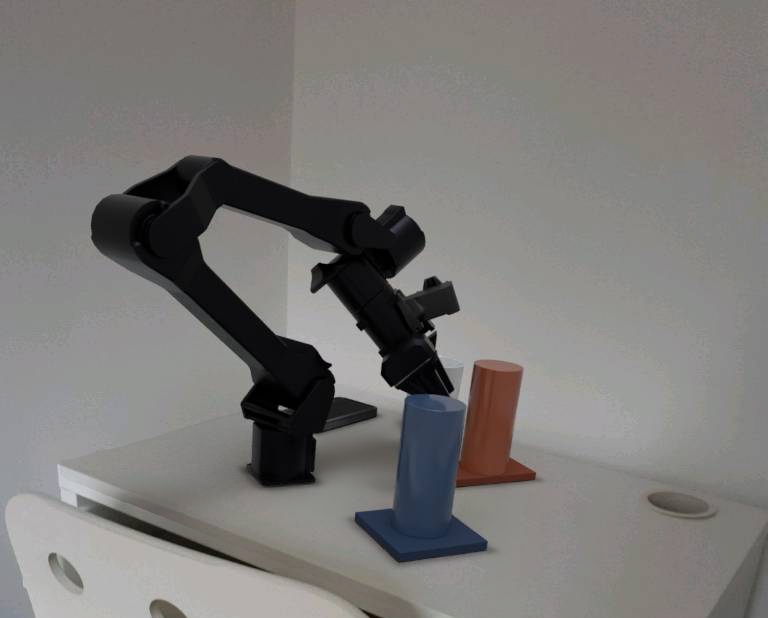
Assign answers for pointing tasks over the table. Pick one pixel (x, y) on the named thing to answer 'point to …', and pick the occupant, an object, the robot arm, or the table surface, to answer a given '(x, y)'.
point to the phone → (346, 412)
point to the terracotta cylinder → (490, 417)
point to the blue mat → (419, 548)
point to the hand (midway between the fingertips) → (452, 401)
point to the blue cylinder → (427, 465)
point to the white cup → (453, 373)
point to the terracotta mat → (513, 474)
